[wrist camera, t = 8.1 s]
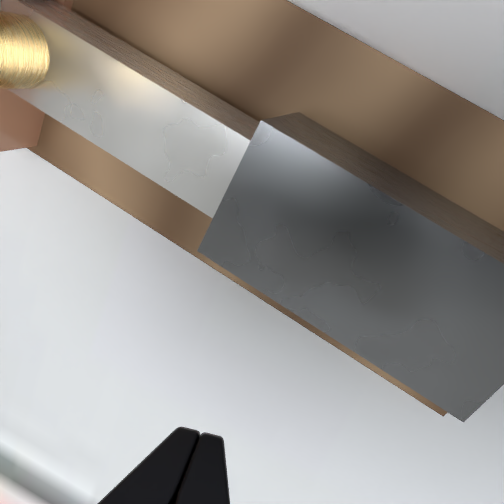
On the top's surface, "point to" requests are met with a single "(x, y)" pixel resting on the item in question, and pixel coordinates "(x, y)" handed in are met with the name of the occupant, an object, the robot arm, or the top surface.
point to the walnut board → (289, 111)
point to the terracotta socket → (20, 116)
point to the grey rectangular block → (367, 259)
